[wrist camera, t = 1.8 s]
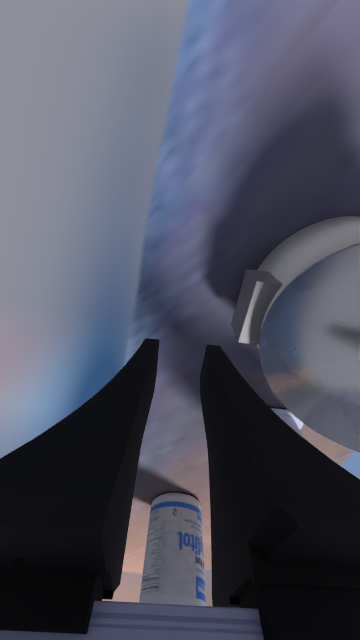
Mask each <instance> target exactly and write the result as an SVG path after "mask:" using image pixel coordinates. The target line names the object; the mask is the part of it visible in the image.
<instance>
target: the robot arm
mask: <svg viewBox="0 0 360 640" xmlns="http://www.w3.org/2000/svg"><path fill="white" fill-rule="evenodd" d="M158 351H159V340H157V339H147V338H146V339H145V340H144V341H143V343H142V344H141V346H140V347H139V349H138V350H137V351H136V353H135V354H134V355H133V356H132V358H131V359H130V360H129V361H128V362H127V364H126V365H125V366H124V367H123V368H122V369H121V370H120V371H119V372H118V373H117V374H116V376H115V377H114V378H113V379H112V380H111V381H110V382H109V383H107V384H106V385H105V386H104V387H103V388H102V389H101V390H100V391H99V392H98V393H97V394H95V395H94V396H93V397H92V398H91V399H89V400H88V401H87V402H85V403H84V404H83V405H82V406H81V407H79V408H78V409H77V410H75V411H74V412H73V413H72V414H70V415H68V416H67V417H66V418H64V419H63V420H61V421H60V422H58V423H57V424H55V425H54V426H52V427H51V428H49V429H48V430H47V431H45V432H44V433H42V434H41V435H39V436H37V437H36V438H34V439H33V440H31V441H29V442H27V443H26V444H24V445H23V446H21V447H19V448H18V449H16V450H14V451H12V452H11V453H9V454H7V455H6V456H4V457H3V458H1V459H0V640H360V480H359V479H358V478H357V477H355V476H354V475H352V474H351V473H349V472H348V471H347V470H345V469H344V468H342V467H341V466H339V465H338V464H336V463H335V462H334V461H332V460H331V459H330V458H328V457H327V456H326V455H325V454H323V453H322V452H321V451H319V450H318V449H317V448H315V447H314V446H313V445H312V444H310V443H309V442H308V441H307V440H305V439H304V438H303V436H302V434H301V432H300V429H301V427H302V425H303V424H304V423H303V422H301V421H300V420H299V419H298V418H296V417H295V416H294V415H293V414H292V413H291V412H290V411H289V410H285V409H274V408H270V407H269V406H268V405H267V404H266V403H265V402H264V401H263V400H262V399H261V398H260V397H259V396H258V395H257V394H256V393H255V392H254V390H253V389H252V388H251V387H250V386H249V385H248V383H247V382H246V381H245V380H244V379H243V377H242V376H241V375H240V373H239V372H238V371H237V370H236V368H235V367H234V365H233V364H232V363H231V361H230V360H229V358H228V357H227V356H226V354H225V353H224V351H223V350H222V349H221V347H220V346H215V345H207V347H206V351H205V356H204V360H203V365H202V369H201V374H200V396H201V403H202V411H203V418H204V425H205V432H206V439H207V447H208V461H209V481H210V507H211V550H212V603H213V607H210V606H191V605H172V604H153V603H132V602H114V601H113V602H112V601H102V599H112V598H113V593H114V591H115V590H116V588H117V587H118V586H119V585H120V580H121V573H122V566H123V560H124V553H125V546H126V539H127V532H128V526H129V519H130V513H131V506H132V499H133V493H134V486H135V480H136V474H137V467H138V461H139V455H140V448H141V443H142V439H143V434H144V430H145V426H146V422H147V418H148V414H149V410H150V406H151V402H152V398H153V394H154V388H155V381H156V374H157V363H158Z"/></svg>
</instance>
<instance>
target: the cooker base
mask: <svg viewBox="0 0 360 640" xmlns="http://www.w3.org/2000/svg"><path fill="white" fill-rule="evenodd" d="M359 242H360V217H359V216H343V217H335V218H331V219H326V220H323V221H320V222H317V223H314V224H311V225H309V226H307V227H305V228H303V229H301V230H299V231H298V232H296V233H294V234H293V235H291V236H289V237H288V238H287V239H285V240H284V241H283V242H282V243H280V244H279V245H278V246H277V247H276V248H275V249H274V250H273V251H272V252H271V253H270V254H269V255H268V256H267V257H266V258H265V260H264V261H263V262H262V263H261V265H260V266H259V268H258V269H257V270H251V269H246V272H245V275H244V279H243V283H242V286H241V290H240V294H239V297H238V301H237V305H236V309H235V312H234V316H233V320H232V323H231V325H232V327H233V330H234V333H235V335H236V338H237V341H238V343H248V344H256V345H257V347H258V349H259V341H260V333H261V329H262V326H263V322H264V320H265V318H266V316H267V313H268V311H269V309H270V308H271V306H272V304H273V303H274V301H275V300H276V298H277V296H278V295H279V294H280V293H281V292H282V290H283V289H284V288H285V287H286V286H287V285H288V284H289V283H290V282H291V281H292V280H293V279H294V278H295V277H296V276H297V275H299V274H300V273H301V272H303V271H304V270H305V269H307V268H308V267H309V266H311V265H312V264H314V263H315V262H317V261H319V260H321V259H323V258H324V257H326V256H328V255H330V254H332V253H334V252H336V251H339V250H341V249H343V248H345V247H348V246H350V245H353V244H356V243H359Z"/></svg>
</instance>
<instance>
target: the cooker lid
mask: <svg viewBox="0 0 360 640" xmlns="http://www.w3.org/2000/svg"><path fill="white" fill-rule="evenodd" d="M259 357H260V362H261V367H262V370H263V372H264V375H265V378H266V380H267V382H268V384H269V386H270V388H271V389H272V391H273V392H274V394H275V395H276V397H277V398H278V399H279V400H280V402H281V403H282V404H283V405H284V406H285V407H286V408H287V409H288V410H289V411H290V412H291V413H292V414H293V415H294V416H295V417H296V418H298V419H299V420H300V421H301V422H303V423H304V424H305V425H307V426H308V427H310V428H311V429H313V430H314V431H316V432H317V433H319V434H321V435H323V436H325V437H326V438H328V439H330V440H332V441H334V442H336V443H338V444H341V445H343V446H345V447H347V448H350V449H353V450H355V451H358V452H360V242H359V243H356V244H353V245H350V246H348V247H345V248H343V249H341V250H339V251H336V252H334V253H332V254H330V255H328V256H326V257H324V258H323V259H321V260H319V261H317V262H315V263H314V264H312V265H311V266H309V267H308V268H307V269H305V270H304V271H303V272H301V273H300V274H299V275H297V276H296V277H295V278H294V279H293V280H292V281H291V282H290V283H289V284H288V285H287V286H286V287H285V288H284V289H283V290H282V292H281V293H280V294H279V295H278V296H277V298H276V300H275V301H274V303H273V304H272V306H271V308H270V309H269V311H268V313H267V316H266V318H265V320H264V322H263V326H262V329H261V333H260V341H259Z"/></svg>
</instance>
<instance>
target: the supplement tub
mask: <svg viewBox="0 0 360 640" xmlns="http://www.w3.org/2000/svg"><path fill="white" fill-rule="evenodd" d="M139 603H153V604H172V605H191V606H206V605H205V580H204V556H203V534H202V513H201V505H200V503H199V501H198V500H197V499H196V498H194V497H192V496H190V495H187V494H181V493H166V494H162V495H160V496H158V497H156V498H155V499H154V500H153V502H152V504H151V511H150V519H149V527H148V535H147V544H146V551H145V560H144V568H143V576H142V585H141V593H140V601H139Z"/></svg>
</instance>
